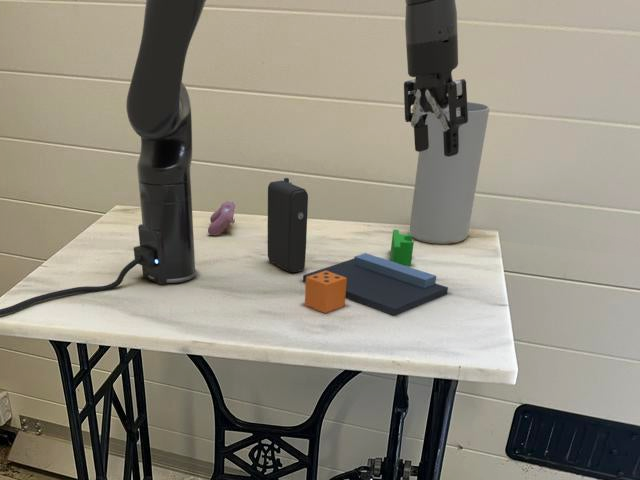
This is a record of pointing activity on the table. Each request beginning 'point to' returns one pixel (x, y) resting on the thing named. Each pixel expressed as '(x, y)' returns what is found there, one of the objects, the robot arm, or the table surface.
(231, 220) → the purple rounded lump
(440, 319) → the table surface
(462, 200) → the cylinder vase
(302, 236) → the dark grey rounded box
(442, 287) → the bed mat
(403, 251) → the pipe clamp
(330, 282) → the die
